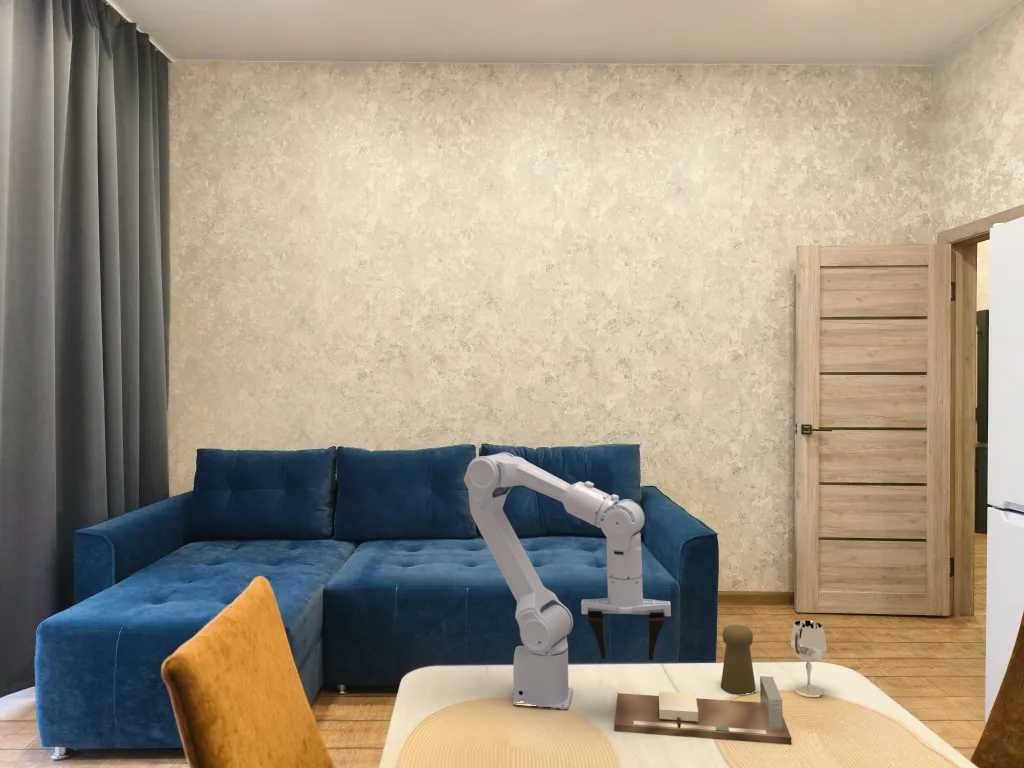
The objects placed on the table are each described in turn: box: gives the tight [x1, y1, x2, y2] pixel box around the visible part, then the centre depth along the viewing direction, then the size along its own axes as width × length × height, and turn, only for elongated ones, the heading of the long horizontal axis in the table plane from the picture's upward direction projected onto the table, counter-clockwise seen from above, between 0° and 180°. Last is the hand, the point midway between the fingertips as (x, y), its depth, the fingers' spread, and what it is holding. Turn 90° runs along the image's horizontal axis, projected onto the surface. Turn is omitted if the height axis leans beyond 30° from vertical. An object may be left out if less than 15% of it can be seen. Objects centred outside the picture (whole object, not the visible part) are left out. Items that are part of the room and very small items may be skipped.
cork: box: [720, 624, 757, 695], centre depth 132 cm, size 6×6×11 cm
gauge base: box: [613, 692, 792, 745], centre depth 119 cm, size 26×12×1 cm, turn 79°
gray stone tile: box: [759, 675, 783, 732], centre depth 117 cm, size 2×9×5 cm, turn 169°
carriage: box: [658, 690, 698, 725], centre depth 119 cm, size 6×9×2 cm, turn 169°
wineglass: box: [790, 619, 827, 696], centre depth 129 cm, size 6×6×12 cm
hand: (627, 657), depth 122 cm, fingers open, 7 cm apart
